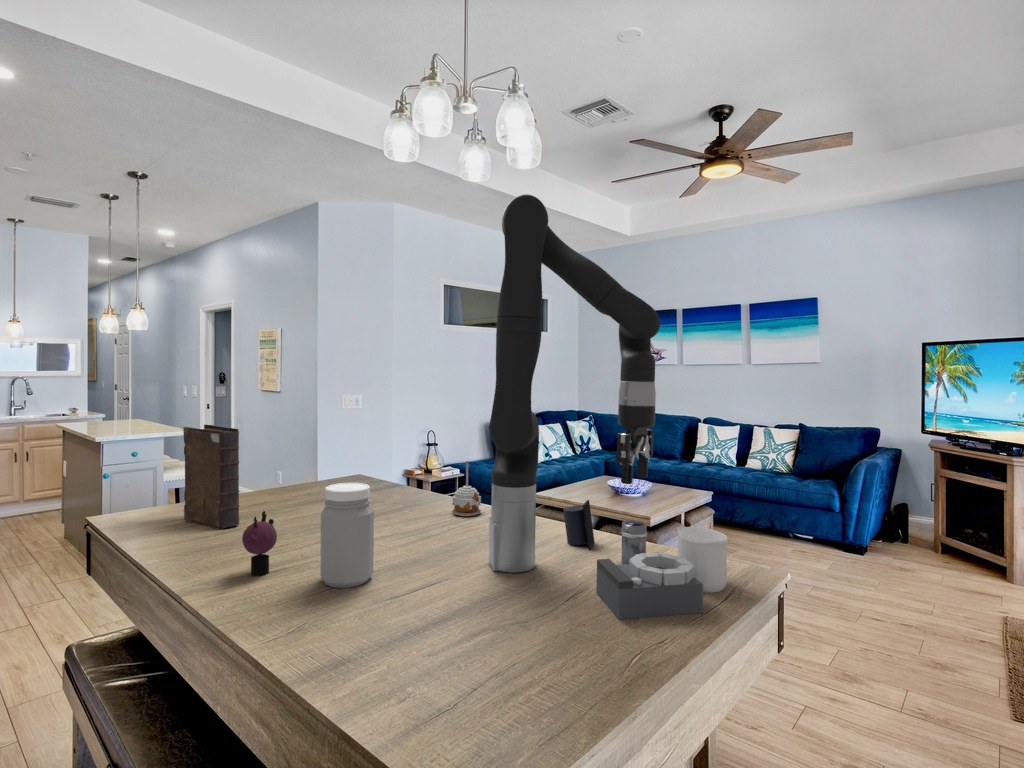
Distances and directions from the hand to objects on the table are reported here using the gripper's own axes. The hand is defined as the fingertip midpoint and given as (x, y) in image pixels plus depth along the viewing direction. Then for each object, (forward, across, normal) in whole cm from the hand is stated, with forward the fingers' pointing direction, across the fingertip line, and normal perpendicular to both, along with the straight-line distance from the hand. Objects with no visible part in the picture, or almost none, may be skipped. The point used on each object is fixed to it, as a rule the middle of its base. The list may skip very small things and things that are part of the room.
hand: (634, 480), depth 118 cm
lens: (+18, 0, 0) cm, 18 cm away
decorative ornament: (+19, +12, +54) cm, 58 cm away
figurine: (+19, -48, +58) cm, 77 cm away
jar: (+19, -40, +42) cm, 61 cm away
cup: (+18, -2, -15) cm, 23 cm away
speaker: (+18, +6, +16) cm, 25 cm away
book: (+19, -35, +100) cm, 108 cm away
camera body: (+18, -16, -9) cm, 26 cm away
